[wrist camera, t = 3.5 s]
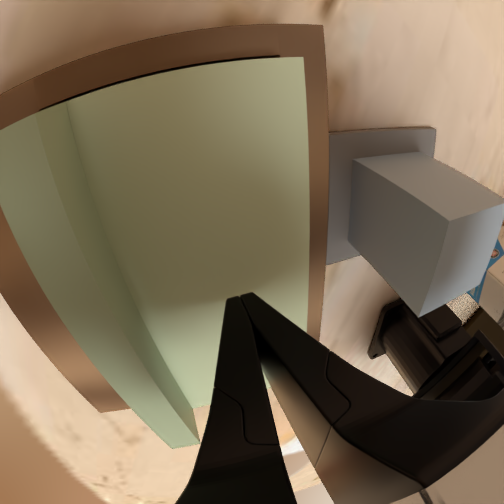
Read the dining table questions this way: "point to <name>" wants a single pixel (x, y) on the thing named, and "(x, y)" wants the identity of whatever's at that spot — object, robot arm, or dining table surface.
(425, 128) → the mat
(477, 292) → the ink box
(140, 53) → the brown hollow rectangular piece
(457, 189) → the block
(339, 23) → the dining table surface
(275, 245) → the cover
